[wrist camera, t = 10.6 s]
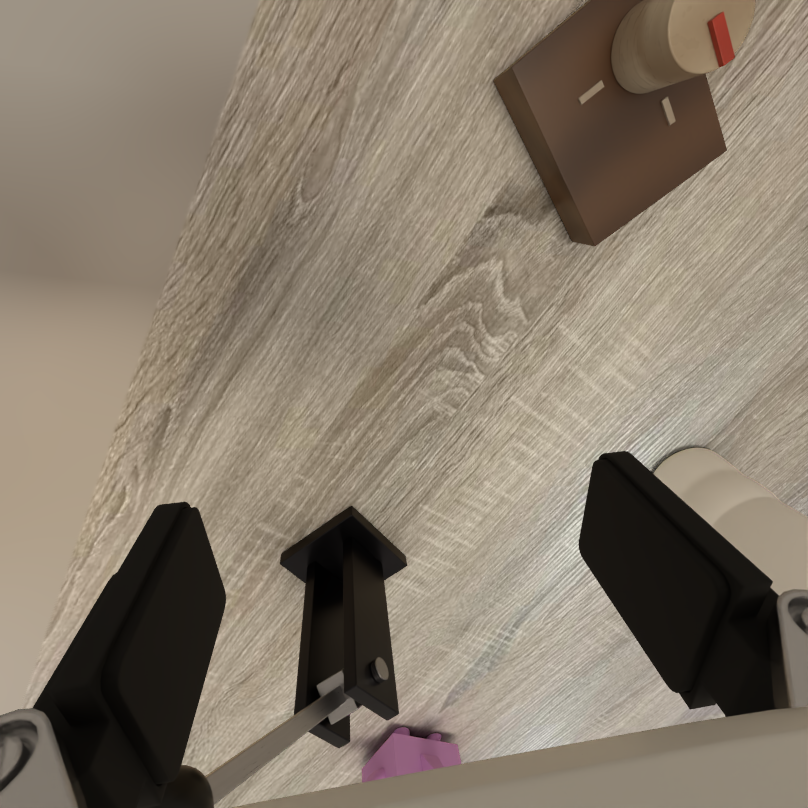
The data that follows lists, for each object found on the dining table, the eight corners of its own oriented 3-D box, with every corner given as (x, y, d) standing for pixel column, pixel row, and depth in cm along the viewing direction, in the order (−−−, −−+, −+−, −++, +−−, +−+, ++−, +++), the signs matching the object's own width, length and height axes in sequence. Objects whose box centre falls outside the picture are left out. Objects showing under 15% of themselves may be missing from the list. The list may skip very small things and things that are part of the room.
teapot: (497, 724, 55) (526, 823, 46) (443, 778, 59) (460, 879, 51) (372, 699, 49) (379, 807, 41) (322, 761, 54) (319, 871, 45)
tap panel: (487, 69, 25) (506, 53, 22) (652, -70, 23) (696, -106, 20) (571, 241, 30) (596, 246, 27) (713, 137, 28) (755, 131, 25)
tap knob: (598, 35, 22) (660, -3, 18) (668, -22, 22) (750, -76, 17) (627, 111, 24) (689, 93, 20) (692, 60, 23) (772, 30, 19)
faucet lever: (86, 815, 16) (103, 927, 14) (148, 776, 15) (172, 890, 14) (329, 669, 31) (348, 717, 30) (364, 648, 30) (385, 696, 29)
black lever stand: (281, 553, 38) (253, 723, 26) (351, 505, 37) (357, 660, 25) (339, 598, 42) (338, 768, 29) (405, 556, 40) (434, 714, 28)
